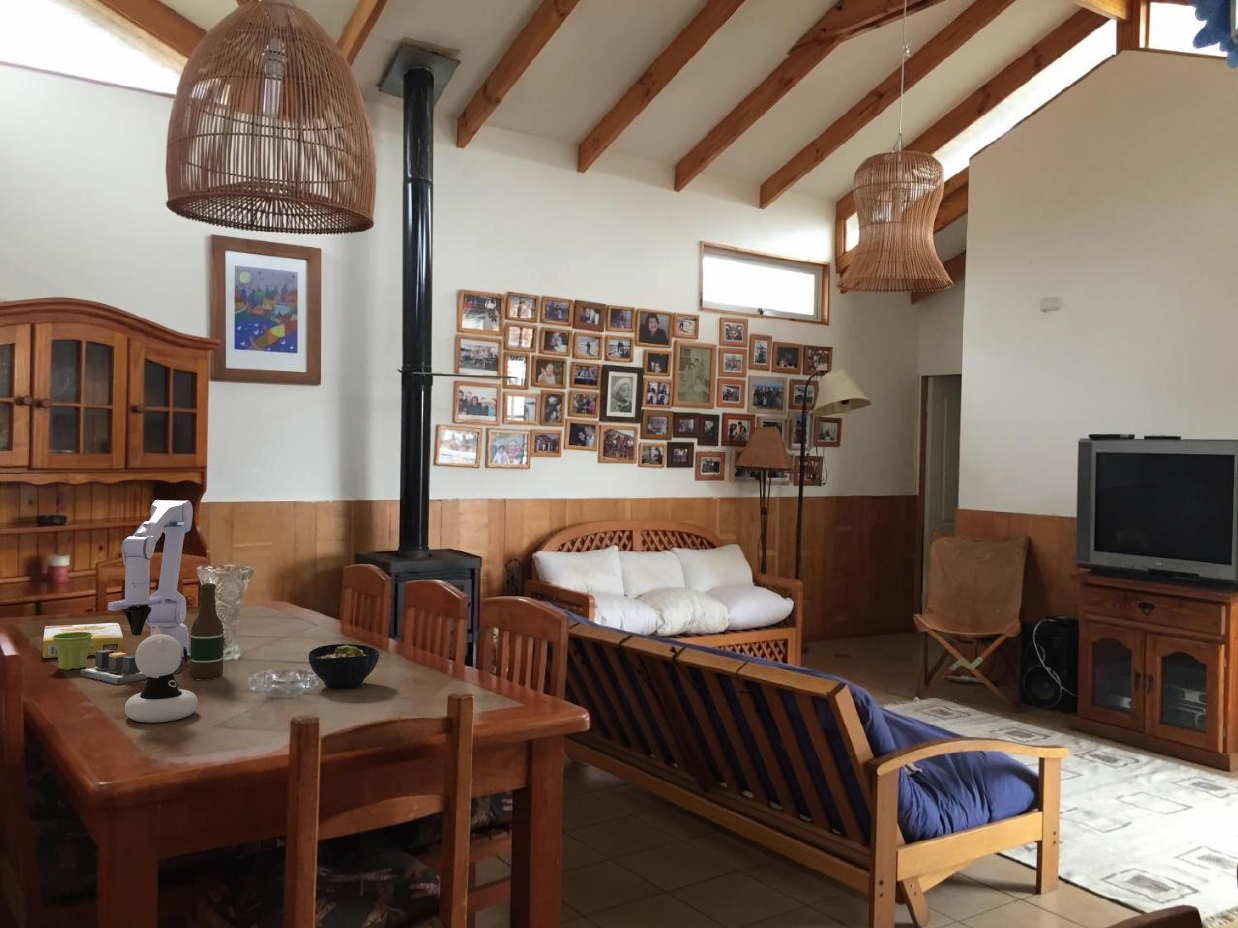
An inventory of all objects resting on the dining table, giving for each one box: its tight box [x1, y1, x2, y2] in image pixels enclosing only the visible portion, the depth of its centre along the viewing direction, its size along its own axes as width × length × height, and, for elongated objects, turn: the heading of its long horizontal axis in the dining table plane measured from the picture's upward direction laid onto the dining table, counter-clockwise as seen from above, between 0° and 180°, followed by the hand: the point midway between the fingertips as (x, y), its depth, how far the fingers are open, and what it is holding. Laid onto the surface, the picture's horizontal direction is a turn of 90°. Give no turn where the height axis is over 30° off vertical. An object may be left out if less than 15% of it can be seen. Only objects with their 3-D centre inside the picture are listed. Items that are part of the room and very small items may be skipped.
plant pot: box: [52, 632, 93, 671], centre depth 263 cm, size 9×9×9 cm
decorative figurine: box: [124, 623, 199, 724], centre depth 217 cm, size 15×15×20 cm
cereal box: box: [41, 622, 125, 659], centre depth 289 cm, size 20×6×28 cm
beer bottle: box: [189, 582, 225, 681], centre depth 255 cm, size 8×8×24 cm
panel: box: [80, 649, 180, 685], centre depth 257 cm, size 17×16×6 cm
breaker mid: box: [109, 652, 128, 671], centre depth 254 cm, size 3×3×4 cm
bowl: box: [308, 643, 380, 691], centre depth 248 cm, size 17×17×10 cm
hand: (136, 634), depth 258 cm, fingers closed
